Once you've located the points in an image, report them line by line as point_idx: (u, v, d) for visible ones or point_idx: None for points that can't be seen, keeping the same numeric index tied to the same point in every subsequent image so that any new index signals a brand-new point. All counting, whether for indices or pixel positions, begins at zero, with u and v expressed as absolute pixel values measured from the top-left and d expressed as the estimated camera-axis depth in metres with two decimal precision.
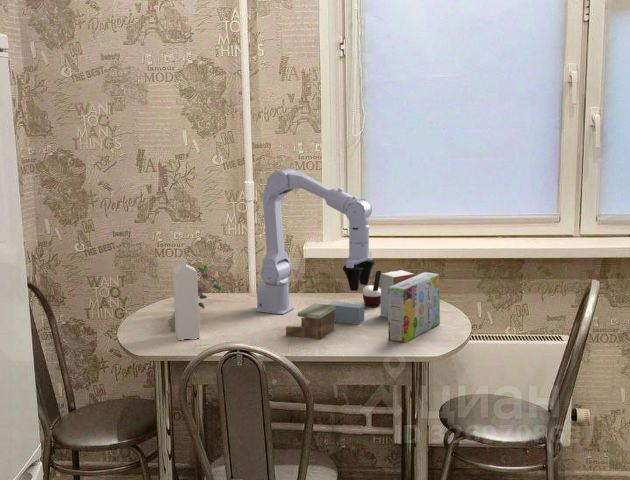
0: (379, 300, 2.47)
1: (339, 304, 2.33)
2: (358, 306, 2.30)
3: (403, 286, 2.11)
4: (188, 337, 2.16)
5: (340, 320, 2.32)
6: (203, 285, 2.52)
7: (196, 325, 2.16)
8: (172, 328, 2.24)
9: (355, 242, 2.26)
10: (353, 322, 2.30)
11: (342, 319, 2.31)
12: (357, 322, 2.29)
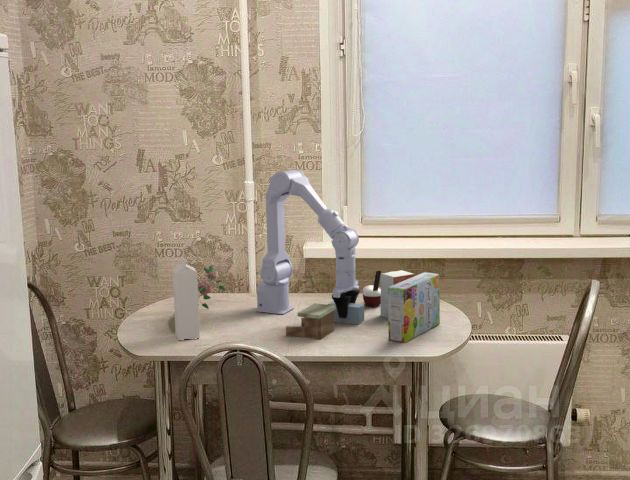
0: (379, 300, 2.47)
1: None
2: (358, 305, 2.30)
3: (403, 286, 2.11)
4: (188, 337, 2.16)
5: (340, 319, 2.32)
6: (208, 286, 2.51)
7: (196, 325, 2.16)
8: (172, 328, 2.24)
9: (341, 271, 2.28)
10: (353, 321, 2.30)
11: (342, 318, 2.31)
12: (357, 321, 2.29)
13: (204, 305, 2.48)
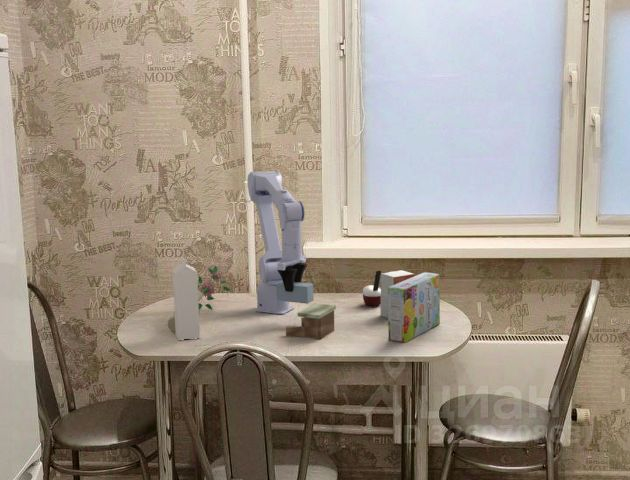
0: (379, 300, 2.47)
1: None
2: (307, 285, 2.27)
3: (403, 286, 2.11)
4: (188, 337, 2.16)
5: (289, 299, 2.29)
6: (212, 286, 2.50)
7: (196, 325, 2.16)
8: (171, 329, 2.23)
9: (282, 243, 2.27)
10: (302, 301, 2.27)
11: (291, 298, 2.29)
12: (305, 301, 2.27)
13: (208, 306, 2.47)
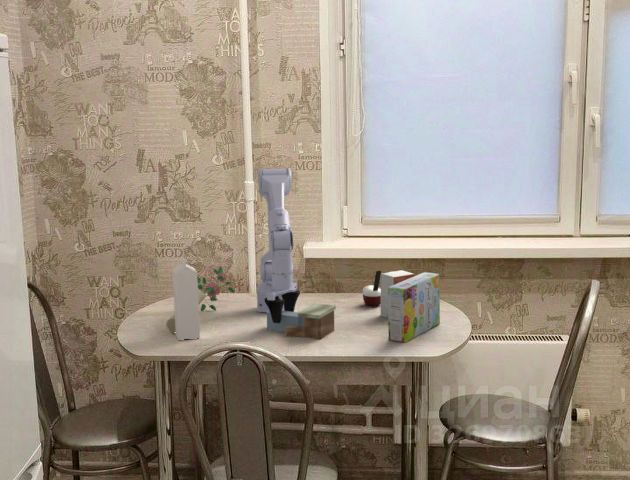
0: (379, 300, 2.47)
1: None
2: None
3: (403, 286, 2.11)
4: (188, 337, 2.16)
5: (279, 329, 2.24)
6: (217, 287, 2.49)
7: (196, 325, 2.16)
8: (170, 330, 2.23)
9: (272, 272, 2.22)
10: None
11: (281, 328, 2.23)
12: None
13: (211, 307, 2.46)
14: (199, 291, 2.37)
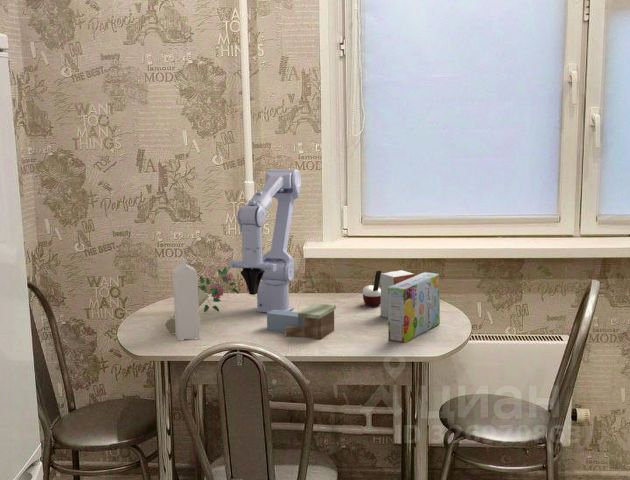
0: (379, 300, 2.47)
1: (279, 312, 2.25)
2: None
3: (403, 286, 2.11)
4: (188, 337, 2.16)
5: (279, 329, 2.24)
6: (221, 288, 2.48)
7: (196, 325, 2.16)
8: (170, 330, 2.22)
9: None
10: None
11: (281, 328, 2.23)
12: None
13: (215, 307, 2.45)
14: (201, 292, 2.36)
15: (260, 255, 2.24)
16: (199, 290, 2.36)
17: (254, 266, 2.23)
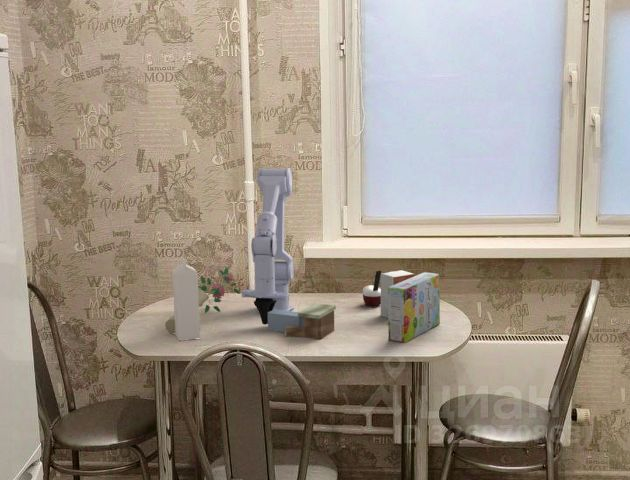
0: (379, 300, 2.47)
1: (279, 312, 2.24)
2: None
3: (403, 286, 2.11)
4: (188, 337, 2.16)
5: (280, 329, 2.23)
6: (222, 288, 2.47)
7: (196, 325, 2.16)
8: (169, 331, 2.22)
9: None
10: None
11: (282, 327, 2.23)
12: None
13: (216, 308, 2.44)
14: (201, 292, 2.36)
15: (273, 285, 2.24)
16: (199, 290, 2.36)
17: (267, 296, 2.23)
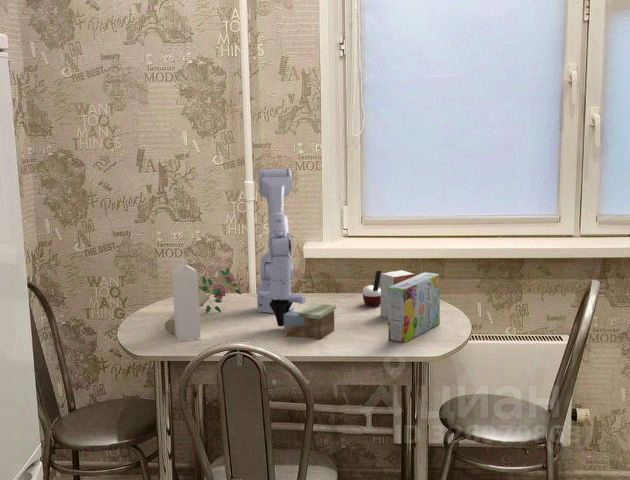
0: (379, 300, 2.47)
1: (296, 314, 2.22)
2: None
3: (403, 286, 2.11)
4: (189, 337, 2.16)
5: None
6: (223, 289, 2.47)
7: (197, 325, 2.16)
8: (168, 331, 2.22)
9: (270, 278, 2.23)
10: None
11: None
12: None
13: (216, 308, 2.44)
14: (202, 292, 2.36)
15: (289, 286, 2.22)
16: (200, 291, 2.36)
17: (283, 298, 2.21)
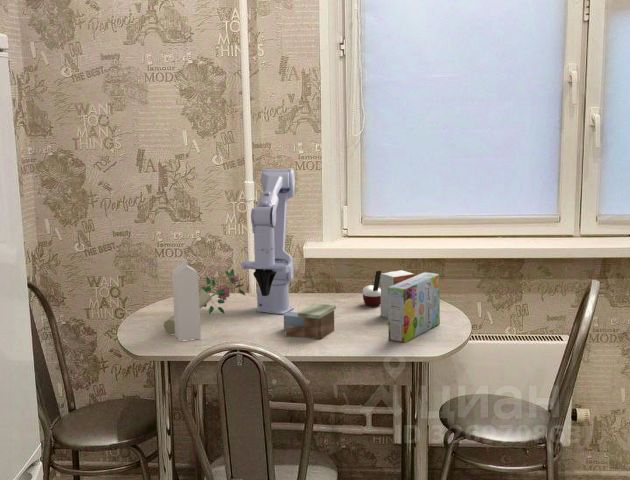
0: (379, 300, 2.47)
1: (296, 314, 2.22)
2: None
3: (403, 286, 2.11)
4: (189, 338, 2.16)
5: None
6: (227, 289, 2.46)
7: (197, 325, 2.16)
8: (167, 331, 2.21)
9: None
10: None
11: None
12: None
13: (220, 309, 2.43)
14: (204, 293, 2.35)
15: (272, 256, 2.23)
16: (202, 291, 2.35)
17: (266, 267, 2.21)
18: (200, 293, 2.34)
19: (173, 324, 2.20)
